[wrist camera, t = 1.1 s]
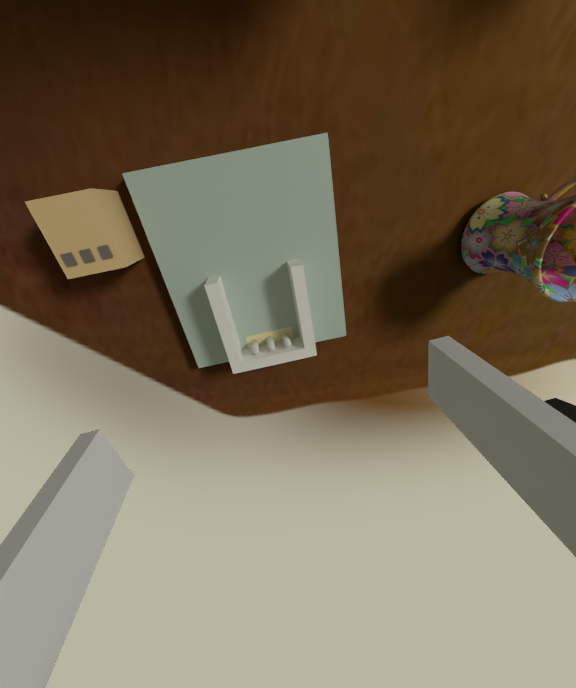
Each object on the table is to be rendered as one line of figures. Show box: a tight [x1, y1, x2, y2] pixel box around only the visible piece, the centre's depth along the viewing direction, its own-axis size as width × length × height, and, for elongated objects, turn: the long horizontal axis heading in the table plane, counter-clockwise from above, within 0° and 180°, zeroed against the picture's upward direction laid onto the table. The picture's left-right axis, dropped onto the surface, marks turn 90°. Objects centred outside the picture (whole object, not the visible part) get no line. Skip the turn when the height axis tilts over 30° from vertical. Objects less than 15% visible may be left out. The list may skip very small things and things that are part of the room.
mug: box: [461, 176, 576, 302], centre depth 27 cm, size 12×9×11 cm
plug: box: [25, 189, 145, 279], centre depth 25 cm, size 6×5×5 cm
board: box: [122, 133, 346, 374], centre depth 28 cm, size 20×18×4 cm
